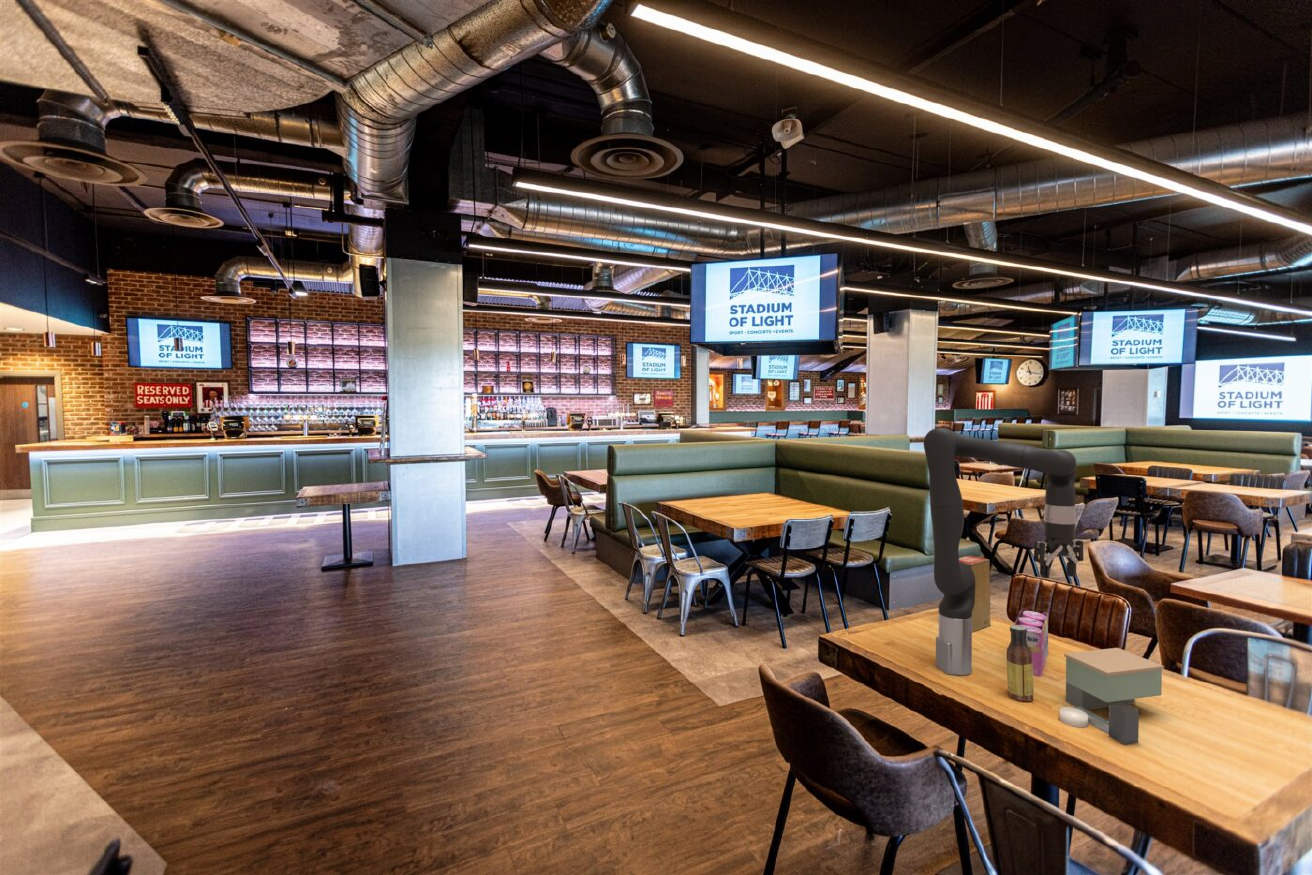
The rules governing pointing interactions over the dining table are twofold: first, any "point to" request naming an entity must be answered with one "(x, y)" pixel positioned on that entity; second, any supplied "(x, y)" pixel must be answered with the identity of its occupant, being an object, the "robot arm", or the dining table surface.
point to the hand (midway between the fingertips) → (1058, 576)
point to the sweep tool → (1117, 722)
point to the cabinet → (1110, 678)
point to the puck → (1074, 717)
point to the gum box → (1035, 637)
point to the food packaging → (980, 591)
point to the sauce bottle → (1019, 665)
